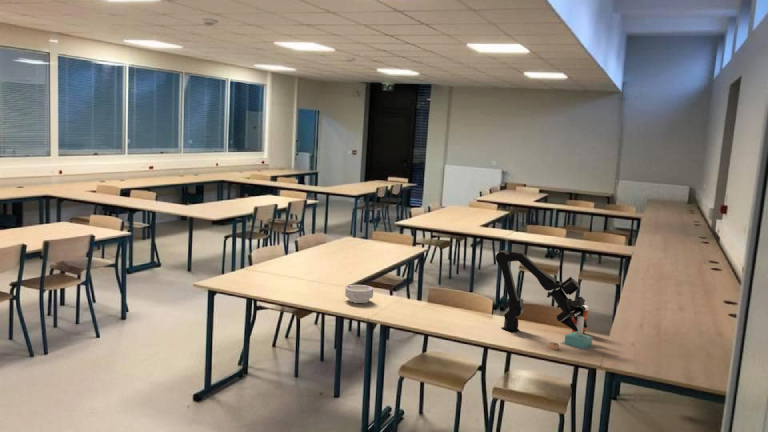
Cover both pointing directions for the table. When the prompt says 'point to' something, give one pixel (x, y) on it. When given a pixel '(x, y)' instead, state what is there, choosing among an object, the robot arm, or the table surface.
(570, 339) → the teal cover
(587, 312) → the paper cup
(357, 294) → the light grey bowl
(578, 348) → the grey mat
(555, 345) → the terracotta bowl
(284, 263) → the table surface
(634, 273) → the table surface
